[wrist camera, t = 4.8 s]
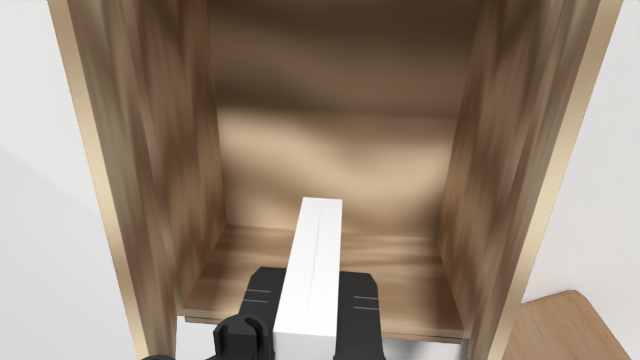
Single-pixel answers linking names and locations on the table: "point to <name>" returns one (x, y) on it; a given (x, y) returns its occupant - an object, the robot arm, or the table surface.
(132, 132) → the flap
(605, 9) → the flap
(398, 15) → the carton
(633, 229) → the table surface
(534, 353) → the wooden block
